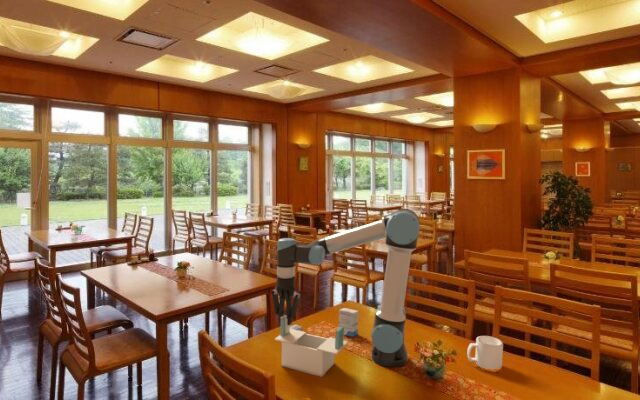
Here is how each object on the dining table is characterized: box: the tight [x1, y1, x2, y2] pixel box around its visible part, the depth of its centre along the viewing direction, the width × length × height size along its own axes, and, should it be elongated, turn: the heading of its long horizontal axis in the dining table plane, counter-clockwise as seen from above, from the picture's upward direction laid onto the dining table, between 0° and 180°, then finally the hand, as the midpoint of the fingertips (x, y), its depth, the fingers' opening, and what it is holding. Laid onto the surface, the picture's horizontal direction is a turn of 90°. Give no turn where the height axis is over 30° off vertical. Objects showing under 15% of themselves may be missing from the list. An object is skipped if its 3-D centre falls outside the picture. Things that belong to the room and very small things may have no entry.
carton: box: [280, 333, 336, 378], centre depth 161 cm, size 18×12×10 cm, turn 65°
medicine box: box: [290, 324, 303, 331], centre depth 177 cm, size 8×4×9 cm, turn 141°
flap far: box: [274, 315, 307, 344], centre depth 163 cm, size 8×12×8 cm
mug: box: [466, 335, 504, 370], centre depth 163 cm, size 14×10×11 cm
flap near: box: [317, 326, 349, 356], centre depth 155 cm, size 8×12×8 cm
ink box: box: [338, 307, 359, 338], centre depth 193 cm, size 9×5×12 cm, turn 58°
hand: (285, 331), depth 165 cm, fingers closed on flap far, 1 cm apart
